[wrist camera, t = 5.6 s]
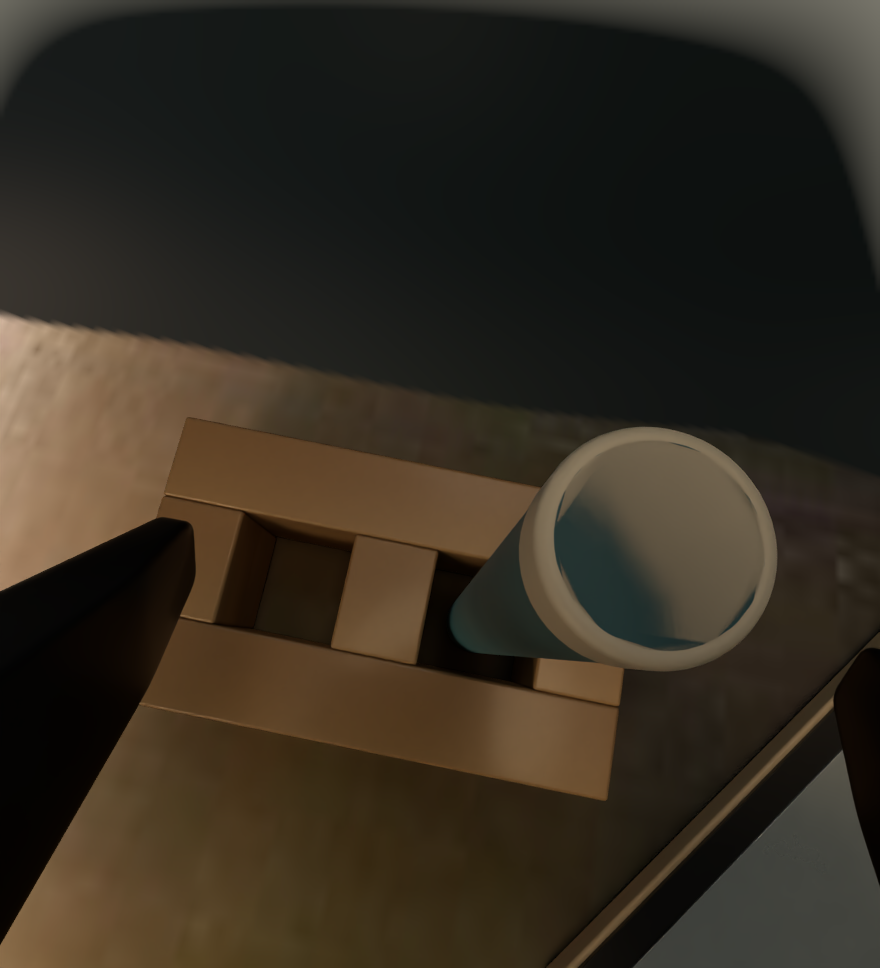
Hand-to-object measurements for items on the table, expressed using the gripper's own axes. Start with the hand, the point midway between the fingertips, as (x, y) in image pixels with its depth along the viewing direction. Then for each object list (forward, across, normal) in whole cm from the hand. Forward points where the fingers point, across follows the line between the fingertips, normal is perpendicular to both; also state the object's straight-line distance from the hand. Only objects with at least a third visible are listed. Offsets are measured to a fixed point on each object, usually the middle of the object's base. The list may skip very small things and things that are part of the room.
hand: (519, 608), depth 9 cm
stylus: (+6, 0, +6) cm, 9 cm away
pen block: (+6, +2, +6) cm, 9 cm away
